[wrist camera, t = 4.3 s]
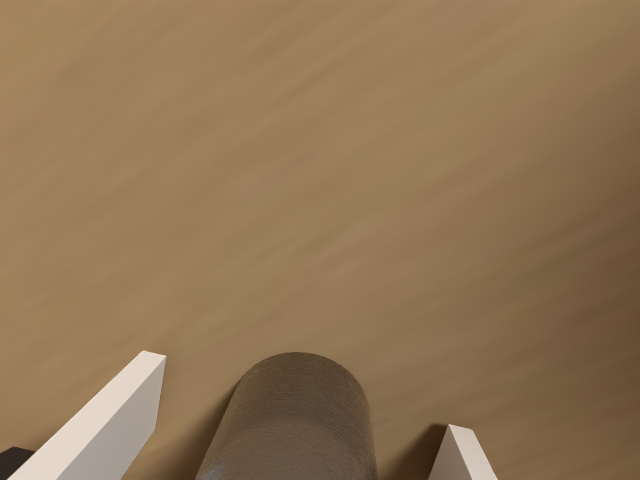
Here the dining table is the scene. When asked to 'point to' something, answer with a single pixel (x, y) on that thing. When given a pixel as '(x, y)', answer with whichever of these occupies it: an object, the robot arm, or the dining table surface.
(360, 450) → the cell
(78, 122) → the dining table surface
